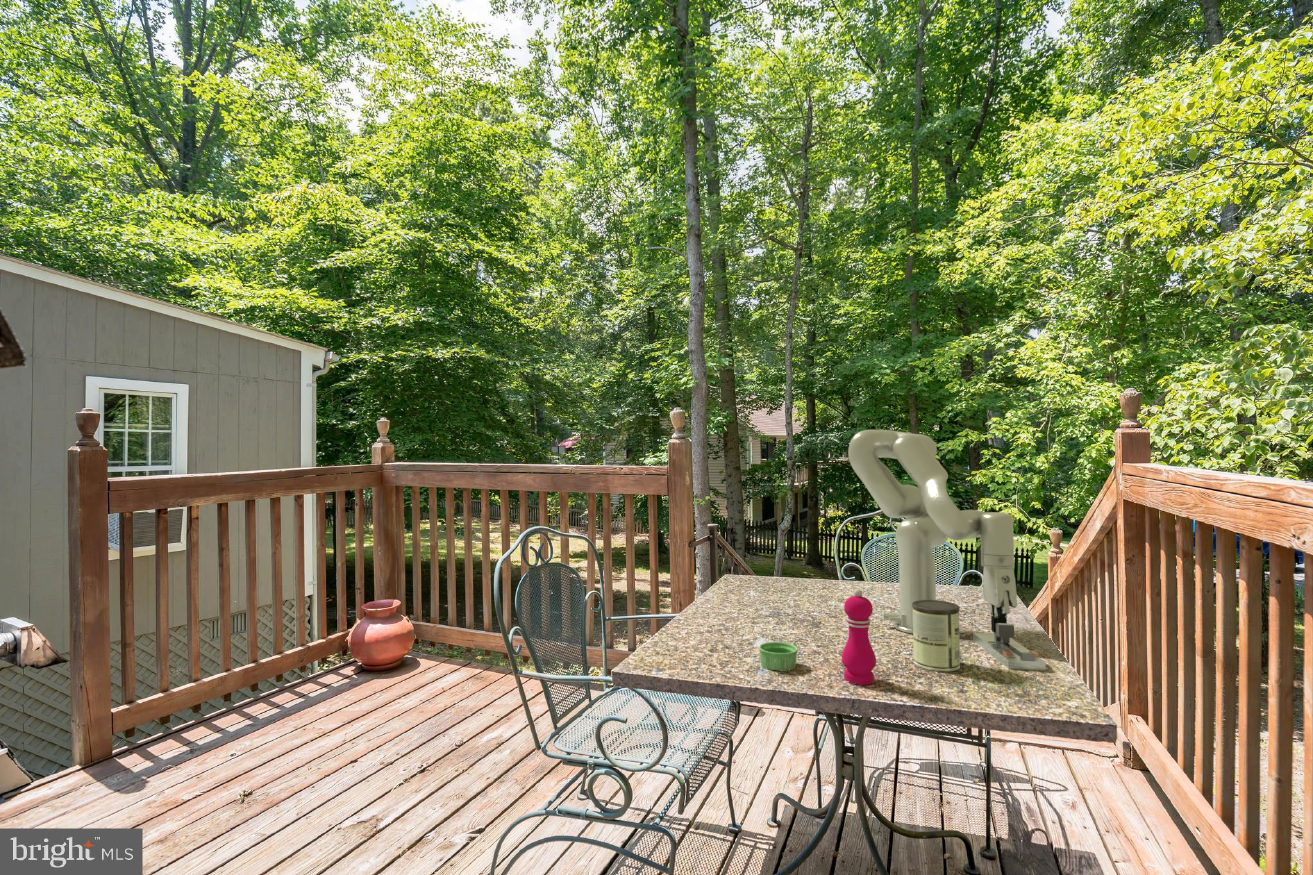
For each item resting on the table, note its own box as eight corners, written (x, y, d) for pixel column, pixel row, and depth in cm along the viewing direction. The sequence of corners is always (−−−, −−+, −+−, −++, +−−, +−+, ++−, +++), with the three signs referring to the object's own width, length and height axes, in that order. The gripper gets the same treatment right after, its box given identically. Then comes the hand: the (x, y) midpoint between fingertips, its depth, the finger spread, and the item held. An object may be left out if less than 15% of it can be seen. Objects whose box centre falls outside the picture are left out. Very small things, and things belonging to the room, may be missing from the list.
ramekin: (774, 675, 147) (774, 655, 147) (751, 663, 155) (751, 645, 155) (805, 668, 151) (805, 649, 151) (781, 657, 159) (781, 639, 159)
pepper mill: (837, 675, 146) (836, 586, 147) (868, 674, 147) (867, 585, 147) (849, 686, 139) (848, 593, 139) (881, 685, 140) (880, 592, 140)
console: (1008, 668, 150) (1008, 653, 150) (972, 640, 173) (972, 626, 173) (1045, 670, 149) (1045, 654, 149) (1004, 641, 172) (1004, 627, 172)
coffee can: (911, 655, 160) (911, 598, 160) (957, 660, 156) (957, 601, 157) (913, 669, 150) (913, 607, 150) (962, 674, 147) (962, 611, 147)
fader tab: (999, 643, 162) (998, 624, 162) (996, 641, 164) (995, 622, 164) (1014, 643, 161) (1014, 625, 162) (1011, 641, 163) (1010, 622, 164)
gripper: (1025, 565, 160) (1027, 641, 159) (1000, 556, 174) (1002, 625, 174) (993, 565, 160) (995, 640, 160) (971, 556, 175) (973, 624, 175)
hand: (999, 632), depth 167 cm, fingers closed
